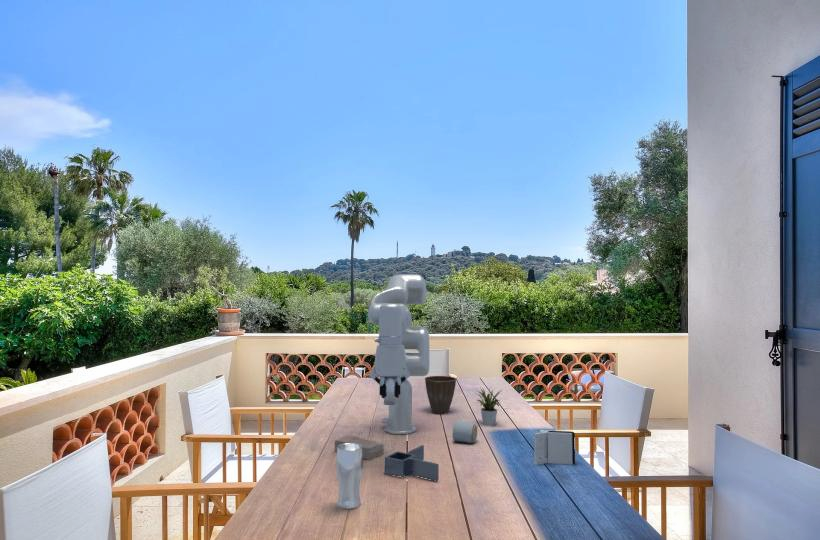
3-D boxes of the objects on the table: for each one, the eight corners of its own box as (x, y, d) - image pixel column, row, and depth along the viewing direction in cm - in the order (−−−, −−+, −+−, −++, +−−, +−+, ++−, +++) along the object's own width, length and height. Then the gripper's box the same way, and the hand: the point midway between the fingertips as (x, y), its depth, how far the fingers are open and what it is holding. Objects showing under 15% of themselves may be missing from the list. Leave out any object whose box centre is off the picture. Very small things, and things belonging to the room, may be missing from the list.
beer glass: (336, 499, 133) (337, 443, 134) (362, 498, 133) (362, 442, 134) (334, 510, 126) (335, 451, 127) (362, 509, 126) (362, 450, 127)
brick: (385, 455, 171) (385, 441, 172) (369, 461, 164) (369, 447, 165) (349, 447, 181) (349, 434, 181) (333, 452, 174) (333, 439, 174)
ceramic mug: (473, 445, 181) (473, 424, 182) (452, 443, 184) (452, 422, 185) (479, 438, 191) (479, 418, 192) (459, 436, 194) (459, 416, 194)
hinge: (535, 465, 160) (534, 434, 161) (530, 460, 166) (530, 429, 166) (577, 464, 161) (576, 433, 162) (570, 459, 166) (570, 429, 167)
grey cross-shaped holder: (384, 473, 152) (384, 457, 153) (413, 458, 167) (414, 443, 167) (431, 485, 143) (431, 467, 143) (458, 468, 157) (458, 452, 158)
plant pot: (461, 411, 236) (461, 377, 237) (446, 417, 223) (447, 382, 224) (434, 407, 244) (434, 374, 245) (418, 413, 231) (419, 379, 232)
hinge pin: (379, 404, 161) (379, 370, 162) (388, 401, 165) (388, 369, 166) (391, 406, 158) (391, 372, 159) (400, 403, 163) (400, 370, 163)
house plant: (465, 426, 208) (465, 387, 209) (473, 418, 221) (473, 382, 222) (499, 429, 203) (498, 389, 204) (505, 422, 216) (505, 384, 217)
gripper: (366, 342, 158) (365, 400, 157) (417, 341, 161) (417, 398, 160) (364, 340, 165) (363, 396, 164) (412, 340, 169) (412, 394, 167)
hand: (389, 396), depth 162 cm, fingers closed on hinge pin, 4 cm apart
